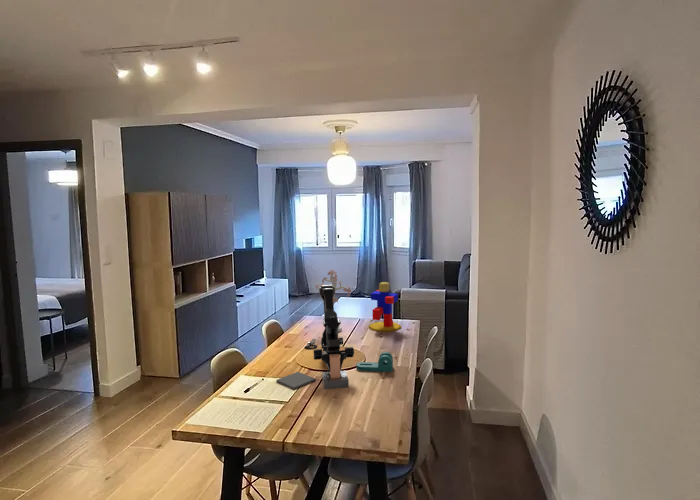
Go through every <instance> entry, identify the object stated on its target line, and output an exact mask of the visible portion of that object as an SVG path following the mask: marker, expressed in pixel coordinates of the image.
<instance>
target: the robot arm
mask: <svg viewBox="0 0 700 500" xmlns="http://www.w3.org/2000/svg"><path fill="white" fill-rule="evenodd" d="M320 285H321V284H320ZM318 294H319V295H320V296H319V297H320V299H322V301H323V315H324V316H323V319H322V324H323V325H322V326H323V327H324V330H323V332H322V335H321V336H322V337H320V345H321V346H320V347H321V348H316V349H313V360H314V361H315V360H316V361H317V360H318V361H319V360H321V361H322V362H324V363H325V365H326V367H327V369H328V372H330V357H329V355H331V354H339V356H340V371H342V366H343V363H344V360H346V359H348V358H354V355H355V348H354V347H353V346H347V347H344V349H343V350H342V349H341V346H343V345H344V336H341V337H339V332H338V329H339V326H341V319H340V318H339V317H338V313H337V312H336V311H335V307H334V306H335V305H334V306H333V296H334V294H335V295H336V291H335V287H332V284H324V285H321V287H320V286H318Z"/></svg>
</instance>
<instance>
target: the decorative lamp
mask: <svg viewBox="0 0 700 500" xmlns="http://www.w3.org/2000/svg"><path fill="white" fill-rule="evenodd" d="M337 273H338V272H337V271H335V270H333V269H330V270H329V271H328V272H327V276H329V275H330V276H329V279H328V277H327V276H325V277H324V278H322V281H321V284H316V285H315V288H316V290H318V289H319V287H321V285H325V284H324V283H325V282H327V283H328V282H330V283H331V285H332V287H335V292H336V291H338V290H341V289H343V291H344V292H346V293H347V296H346V298H348V297H350V295H351V293H352V294H353V292H352V289H351V287H350V286H349V285H347V287H346V286H344V285H342V282H341V281H338V276H337ZM324 281H325V282H324ZM337 283H338V285H339V286H338V287H337ZM338 302H339V299H338V298H336V293H335V294H334V296H333V306H335V303H338ZM342 331H343V326H341V325H340V326H339V329H338V333H339V332H340V333H341V332H342Z"/></svg>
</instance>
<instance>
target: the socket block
mask: <svg viewBox="0 0 700 500" xmlns="http://www.w3.org/2000/svg"><path fill="white" fill-rule="evenodd" d="M321 375H322V382H323V389H324V390H330V389H342V388H344V389H345V388H349V386H350V385H349V383H350V382H349V380H350V379H349V377H348V372H347V370H341V371H340V378H333V379H330V371H325V372H324V371H323V372H322V374H321Z"/></svg>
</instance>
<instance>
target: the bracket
mask: <svg viewBox="0 0 700 500" xmlns="http://www.w3.org/2000/svg"><path fill="white" fill-rule="evenodd" d="M393 357H394V356H393V355H392V354H391V352H389V351H383V352H382V353H380V355H379V357H378V362H377V361H376V362H375V361H374V362H373V361H360V362H357V363H356V366H355V367H356V370H357V371H358V372H359V371H361V372H383V373H385V372H386V373H392V372H393V368H394V360H393V359H394V358H393Z"/></svg>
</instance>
